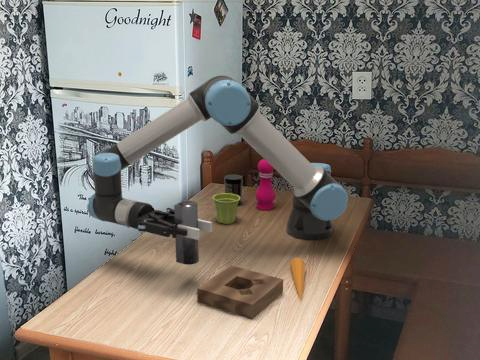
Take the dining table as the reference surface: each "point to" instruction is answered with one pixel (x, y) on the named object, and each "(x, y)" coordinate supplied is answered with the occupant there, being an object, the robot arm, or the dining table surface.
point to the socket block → (240, 291)
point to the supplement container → (234, 185)
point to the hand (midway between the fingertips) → (205, 230)
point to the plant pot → (226, 207)
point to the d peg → (186, 246)
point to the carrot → (298, 274)
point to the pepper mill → (265, 187)
